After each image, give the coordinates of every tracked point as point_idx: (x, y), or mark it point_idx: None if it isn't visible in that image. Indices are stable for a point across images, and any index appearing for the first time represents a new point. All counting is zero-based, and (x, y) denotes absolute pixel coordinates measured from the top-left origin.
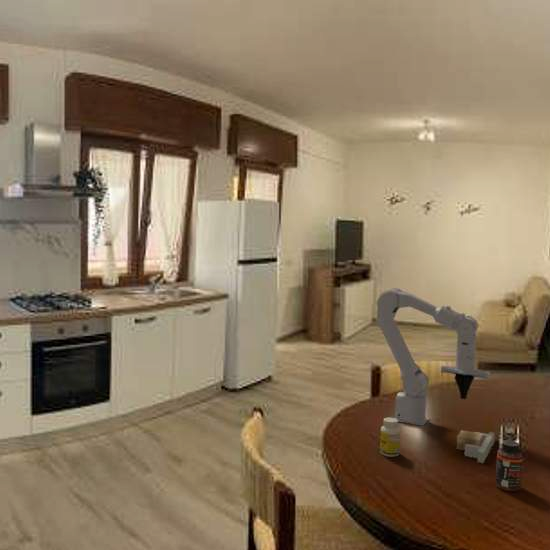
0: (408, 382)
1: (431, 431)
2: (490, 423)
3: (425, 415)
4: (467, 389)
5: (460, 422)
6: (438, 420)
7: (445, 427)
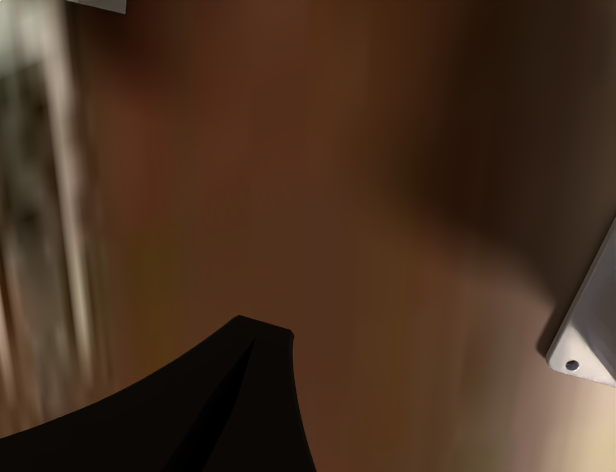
0: None
1: (563, 97)
2: (145, 376)
3: (612, 320)
4: (133, 390)
5: (322, 353)
6: (472, 358)
7: (434, 228)
